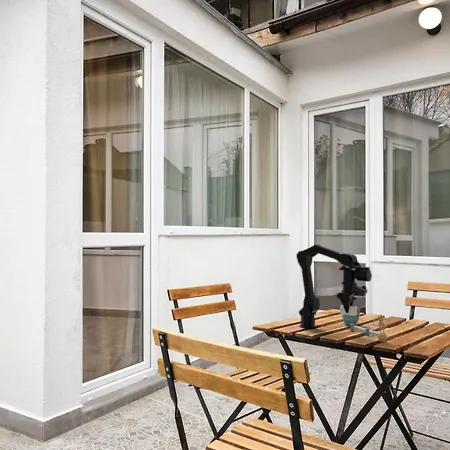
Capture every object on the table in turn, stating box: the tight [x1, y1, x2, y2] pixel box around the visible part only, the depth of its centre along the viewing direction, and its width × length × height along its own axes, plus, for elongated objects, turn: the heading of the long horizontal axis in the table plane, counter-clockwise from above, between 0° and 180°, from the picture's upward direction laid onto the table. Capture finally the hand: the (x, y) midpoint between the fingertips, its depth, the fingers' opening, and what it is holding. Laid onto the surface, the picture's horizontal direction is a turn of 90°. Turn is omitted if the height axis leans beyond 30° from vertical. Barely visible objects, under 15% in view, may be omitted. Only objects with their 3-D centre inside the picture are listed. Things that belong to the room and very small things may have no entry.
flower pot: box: [341, 307, 361, 326], centre depth 251 cm, size 9×9×9 cm
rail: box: [349, 324, 380, 338], centre depth 230 cm, size 6×20×3 cm, turn 23°
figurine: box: [372, 314, 391, 343], centre depth 211 cm, size 8×6×12 cm
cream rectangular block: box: [339, 304, 358, 316], centre depth 227 cm, size 7×4×4 cm, turn 58°
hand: (348, 312), depth 227 cm, fingers closed on cream rectangular block, 4 cm apart
